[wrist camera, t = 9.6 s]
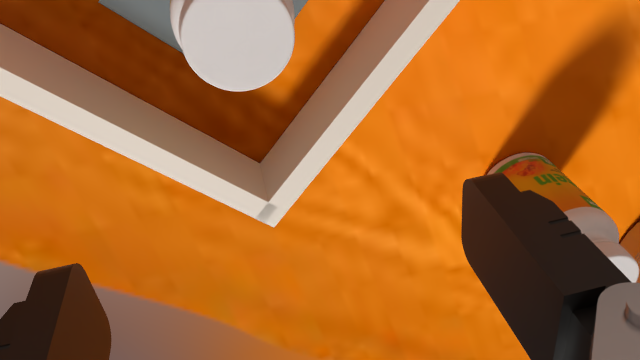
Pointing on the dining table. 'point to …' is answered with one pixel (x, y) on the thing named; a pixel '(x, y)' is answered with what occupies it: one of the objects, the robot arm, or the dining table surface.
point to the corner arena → (204, 151)
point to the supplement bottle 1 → (235, 39)
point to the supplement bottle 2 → (569, 204)
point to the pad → (158, 16)
